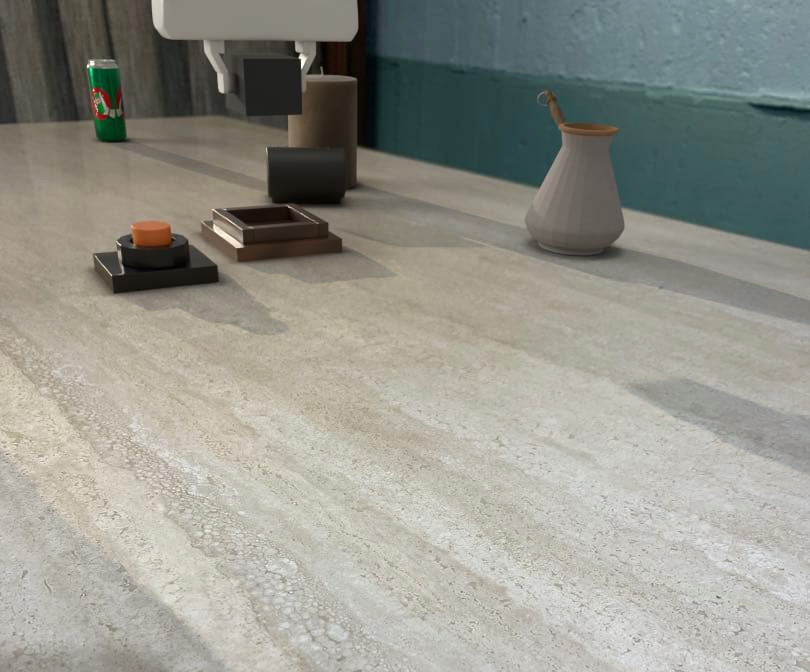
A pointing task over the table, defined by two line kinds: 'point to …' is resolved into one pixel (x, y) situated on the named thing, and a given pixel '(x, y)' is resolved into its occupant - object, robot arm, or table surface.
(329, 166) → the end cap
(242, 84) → the black block
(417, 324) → the table surface
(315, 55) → the robot arm
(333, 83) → the pillar candle
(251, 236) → the tray
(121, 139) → the soda can
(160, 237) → the button
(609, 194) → the coffee pot
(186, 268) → the dark piece
